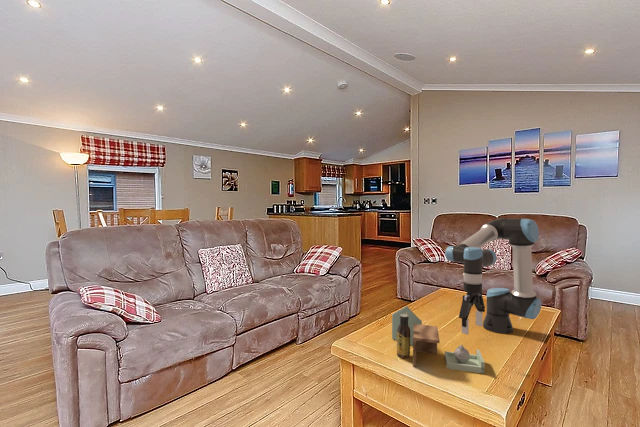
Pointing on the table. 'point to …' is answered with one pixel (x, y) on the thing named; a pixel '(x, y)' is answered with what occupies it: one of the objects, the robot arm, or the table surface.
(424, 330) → the wooden open box
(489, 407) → the table surface
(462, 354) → the figurine
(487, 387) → the table surface
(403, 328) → the sauce bottle
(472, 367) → the tray
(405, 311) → the grey piece
